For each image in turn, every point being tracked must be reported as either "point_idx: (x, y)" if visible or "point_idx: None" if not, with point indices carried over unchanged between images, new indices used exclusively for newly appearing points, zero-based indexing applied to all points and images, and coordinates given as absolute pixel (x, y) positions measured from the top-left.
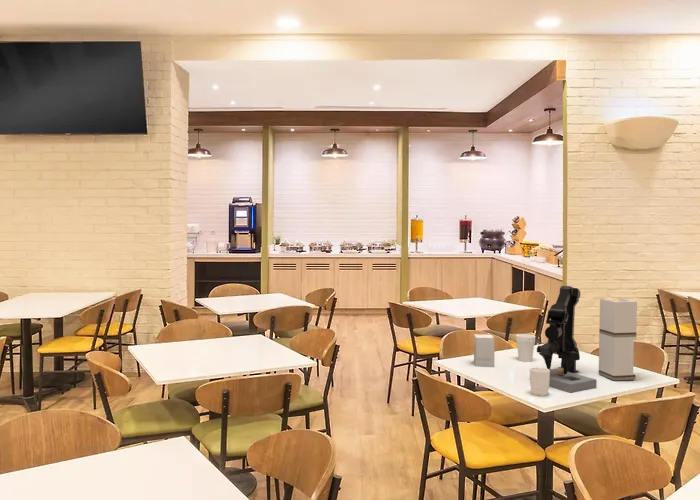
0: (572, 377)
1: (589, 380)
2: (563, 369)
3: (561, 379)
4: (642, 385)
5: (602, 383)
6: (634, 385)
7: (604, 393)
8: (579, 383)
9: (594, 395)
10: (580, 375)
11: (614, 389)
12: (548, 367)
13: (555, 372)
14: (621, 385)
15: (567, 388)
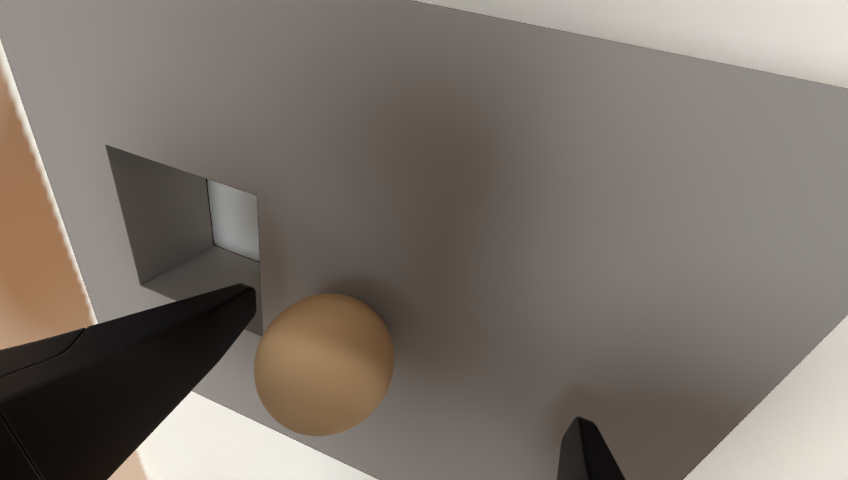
0: (253, 324)
1: (90, 286)
2: (255, 372)
3: (197, 94)
4: (146, 461)
5: (236, 421)
6: (155, 449)
7: (53, 200)
8: (42, 124)
9: (11, 79)
10: (247, 410)
11: None
12: (576, 455)
13: (484, 413)
14: (171, 425)
15: None
